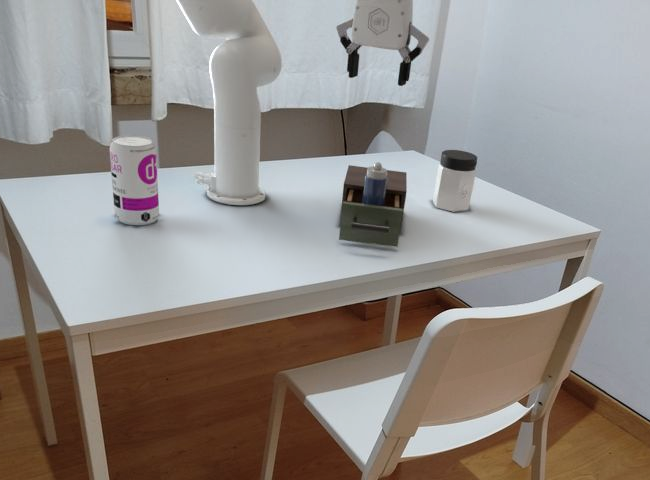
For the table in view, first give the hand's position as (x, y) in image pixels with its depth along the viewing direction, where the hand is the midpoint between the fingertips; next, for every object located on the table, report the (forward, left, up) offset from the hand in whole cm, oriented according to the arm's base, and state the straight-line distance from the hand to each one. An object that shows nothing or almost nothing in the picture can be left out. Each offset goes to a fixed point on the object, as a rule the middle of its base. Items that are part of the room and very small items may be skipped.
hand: (377, 80), depth 125 cm
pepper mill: (+2, -6, -27) cm, 27 cm away
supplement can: (-43, -11, -29) cm, 53 cm away
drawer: (+2, -7, -28) cm, 29 cm away
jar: (+20, +21, -29) cm, 41 cm away
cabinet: (+2, +5, -29) cm, 29 cm away
